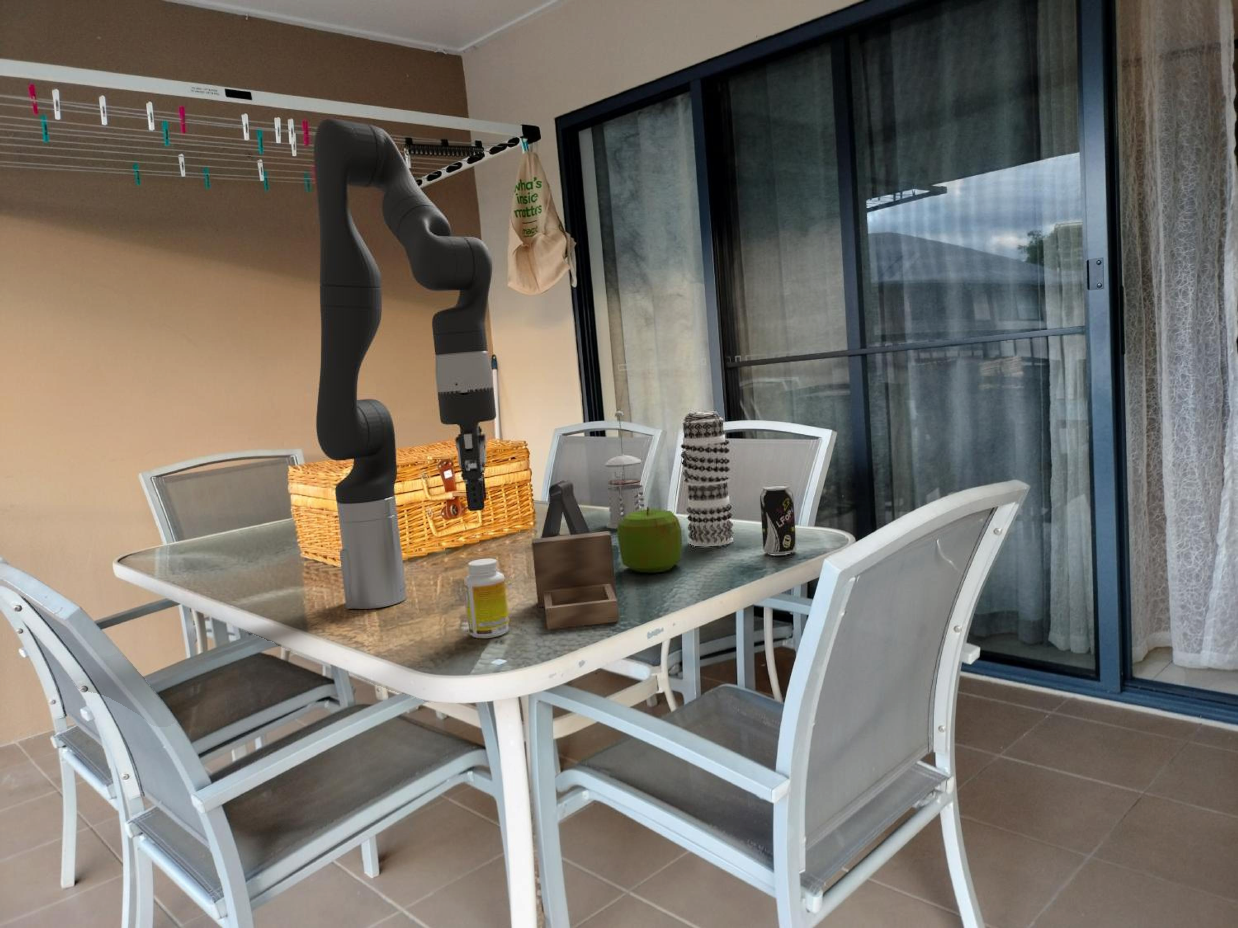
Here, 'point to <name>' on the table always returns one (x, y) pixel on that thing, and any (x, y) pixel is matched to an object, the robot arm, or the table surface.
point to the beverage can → (778, 519)
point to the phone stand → (563, 511)
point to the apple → (650, 540)
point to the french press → (623, 488)
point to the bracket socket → (576, 579)
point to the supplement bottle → (486, 599)
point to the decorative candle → (706, 479)
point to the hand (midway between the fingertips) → (477, 505)
